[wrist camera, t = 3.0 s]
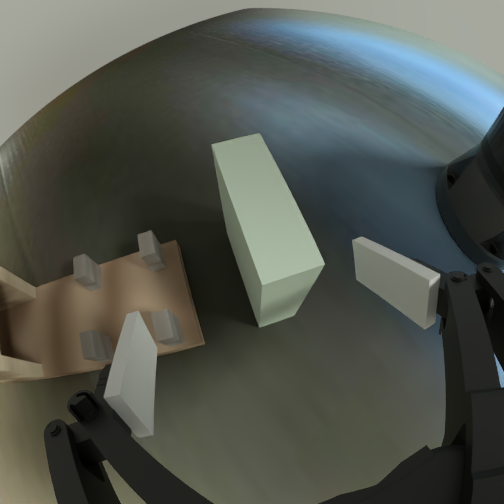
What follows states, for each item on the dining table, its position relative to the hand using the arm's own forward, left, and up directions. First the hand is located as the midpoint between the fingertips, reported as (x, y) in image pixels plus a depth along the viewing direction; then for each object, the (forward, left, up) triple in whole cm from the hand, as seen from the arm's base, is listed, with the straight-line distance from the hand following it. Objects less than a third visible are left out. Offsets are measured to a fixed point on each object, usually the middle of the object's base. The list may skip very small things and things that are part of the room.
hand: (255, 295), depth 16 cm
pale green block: (-2, -4, -7) cm, 8 cm away
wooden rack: (+17, -4, -7) cm, 19 cm away
